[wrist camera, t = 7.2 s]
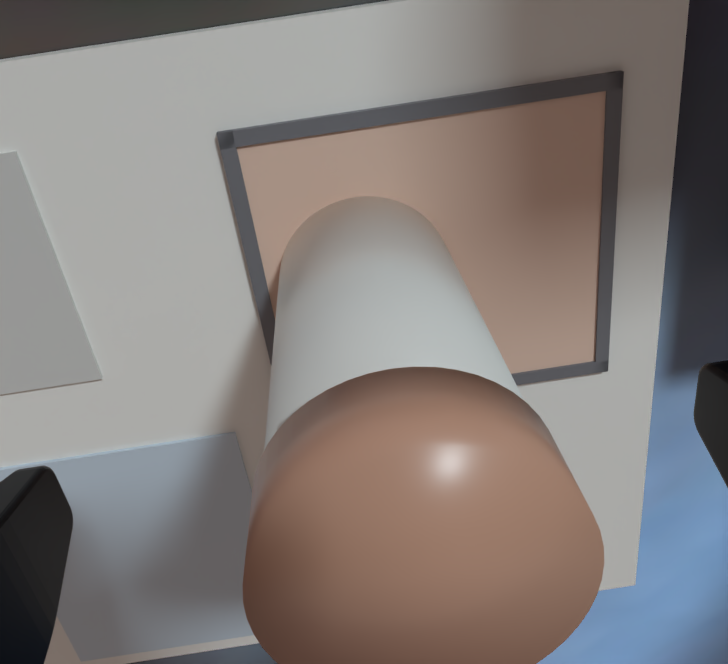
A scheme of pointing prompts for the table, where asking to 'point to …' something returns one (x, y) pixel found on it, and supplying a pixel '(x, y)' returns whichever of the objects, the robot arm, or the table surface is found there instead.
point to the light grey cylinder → (404, 466)
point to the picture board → (269, 240)
